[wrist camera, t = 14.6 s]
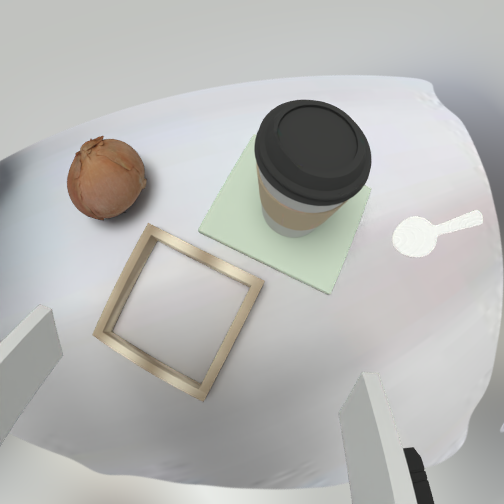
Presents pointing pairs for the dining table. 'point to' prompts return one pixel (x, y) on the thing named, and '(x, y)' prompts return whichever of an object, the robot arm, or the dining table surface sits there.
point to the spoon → (428, 233)
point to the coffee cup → (308, 164)
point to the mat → (273, 244)
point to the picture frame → (125, 287)
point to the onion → (105, 178)
